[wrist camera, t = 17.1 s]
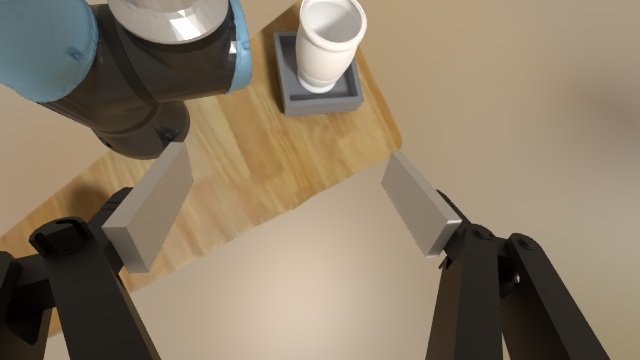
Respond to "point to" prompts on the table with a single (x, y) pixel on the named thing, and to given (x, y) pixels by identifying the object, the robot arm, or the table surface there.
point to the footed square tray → (303, 101)
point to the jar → (327, 41)
